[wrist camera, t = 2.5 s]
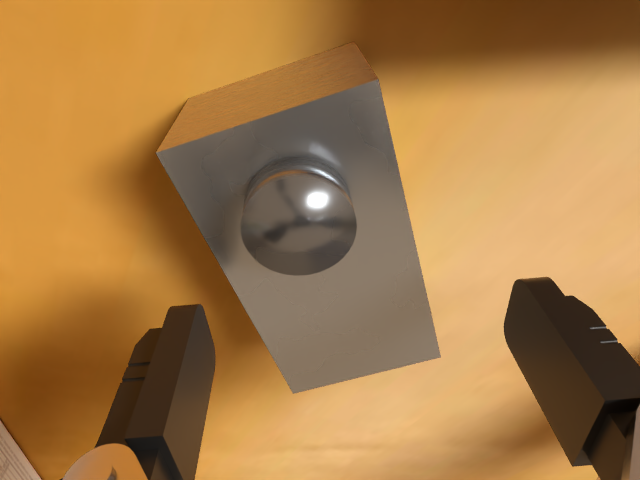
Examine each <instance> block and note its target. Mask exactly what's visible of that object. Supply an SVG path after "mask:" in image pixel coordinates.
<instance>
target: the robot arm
mask: <svg viewBox="0 0 640 480" xmlns="http://www.w3.org/2000/svg"><path fill="white" fill-rule="evenodd" d="M504 334H505V339H506V342H507V345H508V347H509V349H510V351H511V353H512V354H513V356H514V358H515V360H516V362H517V364H518V366H519V368H520V369H521V371H522V373H523V375H524V377H525V379H526V381H527V383H528V384H529V386H530V388H531V390H532V392H533V394H534V396H535V398H536V399H537V401H538V403H539V405H540V407H541V409H542V411H543V412H544V414H545V416H546V418H547V420H548V422H549V424H550V426H551V427H552V429H553V431H554V433H555V435H556V437H557V439H558V441H559V442H560V444H561V446H562V448H563V450H564V452H565V454H566V456H567V457H568V459H569V461H570V463H571V465H572V466H584V465H592V466H593V467H594V469H595V471H596V472H597V474H598V478H597V480H640V366H639V365H638V364H637V363H636V362H635V360H634V359H633V358H632V357H631V355H630V354H629V353H628V352H627V351H626V349H625V348H624V347H623V346H622V344H621V343H618V342H617V338H616V337H615V336H614V335H613V333H612V332H611V331H610V330H609V329H607V328H606V325H605V324H604V322H603V321H602V320H601V319H600V318H599V316H598V315H597V314H596V313H595V312H594V310H593V309H592V308H590V307H589V306H587V305H586V304H584V303H583V302H581V301H580V300H578V299H577V298H575V297H574V296H565V295H564V294H563V293H562V292H561V290H560V289H559V288H558V286H557V285H556V284H555V282H554V281H553V280H552V279H551V278H549V277H541V278H529V279H518V280H516V281H515V282H514V285H513V288H512V292H511V296H510V300H509V304H508V308H507V313H506V317H505V321H504ZM128 365H129V366H128V367H127V368H126V371H125V373H124V376H123V378H122V380H123V382H122V383H120V386H119V389H118V391H117V394H116V396H115V399H114V401H113V404H112V406H111V409H110V412H109V414H108V417H107V419H106V422H105V424H104V427H103V429H102V432H101V434H100V437H99V440H98V442H97V444H96V446H95V448H94V449H92V450H91V451H89V452H87V453H86V454H84V455H83V456H81V457H80V458H79V459H78V460H77V461H76V462H75V463H74V464H73V465H72V466H71V467H70V468H69V470H68V471H67V473H66V474H65V476H64V478H62V479H60V480H194V479H195V474H196V468H197V463H198V458H199V452H200V447H201V441H202V436H203V430H204V425H205V420H206V414H207V409H208V403H209V398H210V392H211V387H212V381H213V376H214V371H215V348H214V343H213V340H212V336H211V333H210V329H209V326H208V322H207V319H206V315H205V312H204V309H203V306H202V305H201V304H196V305H183V306H172V307H170V308H169V310H168V312H167V315H166V318H165V321H164V324H163V327H162V328H155V329H149V331H148V332H147V333H146V334H145V335H144V336H143V337H142V339H141V340H140V341H139V342H138V343H137V344H136V345H135V348H134V350H133V353H132V355H131V358H130V361H129V363H128Z"/></svg>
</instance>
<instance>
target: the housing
mask: <svg viewBox="0 0 640 480" xmlns="http://www.w3.org/2000/svg"><path fill="white" fill-rule="evenodd" d="M156 154H157V156H158V158H159V160H160V161H161V163H162V165H163V167H164V168H165V170H166V172H167V174H168V175H169V177H170V179H171V181H172V182H173V184H174V186H175V188H176V189H177V191H178V193H179V195H180V196H181V198H182V200H183V202H184V203H185V205H186V207H187V209H188V210H189V212H190V214H191V216H192V217H193V219H194V221H195V223H196V224H197V226H198V228H199V230H200V231H201V233H202V235H203V237H204V238H205V240H206V242H207V244H208V245H209V247H210V249H211V251H212V252H213V254H214V256H215V258H216V259H217V261H218V263H219V265H220V266H221V268H222V270H223V272H224V273H225V275H226V277H227V279H228V280H229V282H230V284H231V286H232V287H233V289H234V291H235V293H236V294H237V296H238V298H239V300H240V301H241V303H242V305H243V307H244V308H245V310H246V312H247V314H248V315H249V317H250V319H251V321H252V322H253V324H254V326H255V328H256V329H257V331H258V333H259V335H260V336H261V338H262V340H263V342H264V343H265V345H266V347H267V349H268V350H269V352H270V354H271V356H272V357H273V359H274V361H275V363H276V364H277V366H278V368H279V370H280V371H281V373H282V375H283V377H284V378H285V380H286V382H287V383H288V385H289V387H290V389H291V390H292V392H293V394H294V393H298V392H302V391H306V390H310V389H314V388H318V387H322V386H326V385H330V384H335V383H339V382H343V381H347V380H351V379H355V378H359V377H363V376H367V375H371V374H375V373H379V372H383V371H387V370H391V369H395V368H399V367H403V366H407V365H411V364H416V363H420V362H424V361H428V360H432V359H436V358H440V357H441V355H440V351H439V347H438V342H437V338H436V333H435V329H434V324H433V320H432V315H431V311H430V307H429V302H428V298H427V293H426V289H425V284H424V280H423V275H422V271H421V267H420V262H419V258H418V253H417V249H416V244H415V240H414V235H413V231H412V227H411V222H410V218H409V213H408V209H407V204H406V200H405V195H404V191H403V187H402V182H401V178H400V173H399V169H398V164H397V160H396V155H395V151H394V146H393V142H392V138H391V133H390V129H389V124H388V120H387V115H386V111H385V106H384V102H383V98H382V93H381V89H380V84H379V80H378V78H377V76H376V75H375V73H374V72H373V70H372V68H371V67H370V65H369V64H368V62H367V61H366V59H365V57H364V56H363V54H362V53H361V51H360V50H359V48H358V46H357V45H356V43H355V42H351V43H348V44H346V45H343V46H340V47H337V48H334V49H331V50H328V51H325V52H322V53H319V54H316V55H314V56H311V57H308V58H305V59H302V60H299V61H296V62H293V63H290V64H287V65H284V66H282V67H279V68H276V69H273V70H270V71H267V72H264V73H261V74H258V75H255V76H252V77H250V78H247V79H244V80H241V81H238V82H235V83H232V84H229V85H226V86H223V87H220V88H218V89H215V90H212V91H209V92H206V93H203V94H200V95H197V96H194V97H191V98H189V99H188V101H187V102H186V104H185V105H184V107H183V109H182V110H181V112H180V114H179V115H178V117H177V119H176V120H175V122H174V124H173V125H172V127H171V128H170V130H169V132H168V133H167V135H166V137H165V138H164V140H163V142H162V143H161V145H160V146H159V148H158V150H157V151H156Z"/></svg>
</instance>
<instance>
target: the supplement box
mask: <svg viewBox="0 0 640 480" xmlns="http://www.w3.org/2000/svg"><path fill="white" fill-rule="evenodd" d="M0 480H41V478H40V477H39V475H38V474H37V472H36V471H35V470H34V468H33V467H32V465H31V464H30V462H29V461H28V459H27V458H26V457H25V455H24V454H23V452H22V451H21V449H20V448H19V447H18V445H17V444H16V442H15V441H14V439H13V438H12V437H11V435H10V434H9V432H8V431H7V429H6V428H5V426H4V425H3V424H2V422H1V421H0Z"/></svg>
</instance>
